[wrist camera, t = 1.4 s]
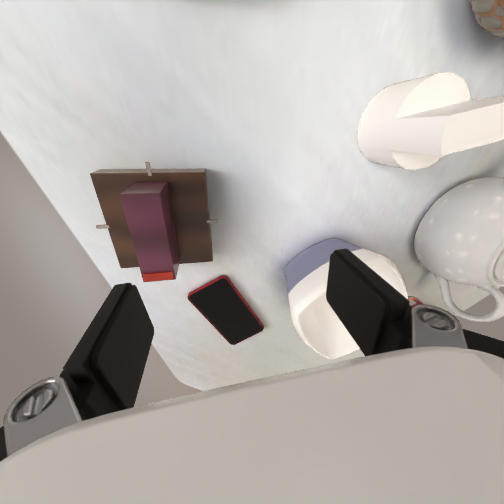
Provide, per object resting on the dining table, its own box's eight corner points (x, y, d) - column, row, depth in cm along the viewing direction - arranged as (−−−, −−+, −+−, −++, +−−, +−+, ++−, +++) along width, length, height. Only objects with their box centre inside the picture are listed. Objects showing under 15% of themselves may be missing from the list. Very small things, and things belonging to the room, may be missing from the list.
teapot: (391, 217, 36) (481, 261, 24) (504, 144, 33) (669, 153, 21) (414, 285, 45) (487, 341, 33) (504, 233, 42) (619, 274, 30)
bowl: (343, 211, 33) (398, 244, 24) (369, 275, 41) (418, 320, 32) (259, 264, 36) (278, 314, 26) (299, 316, 43) (325, 369, 34)
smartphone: (225, 275, 34) (265, 329, 42) (224, 272, 35) (264, 325, 42) (185, 296, 35) (232, 346, 42) (185, 293, 36) (231, 342, 43)
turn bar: (134, 182, 24) (118, 194, 20) (167, 181, 25) (158, 193, 20) (153, 259, 29) (143, 283, 25) (180, 257, 30) (175, 280, 25)
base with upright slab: (355, 170, 31) (430, 190, 20) (358, 92, 26) (457, 68, 16) (415, 154, 31) (518, 167, 21) (428, 75, 26) (569, 41, 16)
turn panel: (85, 159, 25) (73, 162, 22) (213, 159, 27) (214, 161, 25) (120, 265, 32) (113, 276, 29) (220, 258, 34) (221, 268, 31)
